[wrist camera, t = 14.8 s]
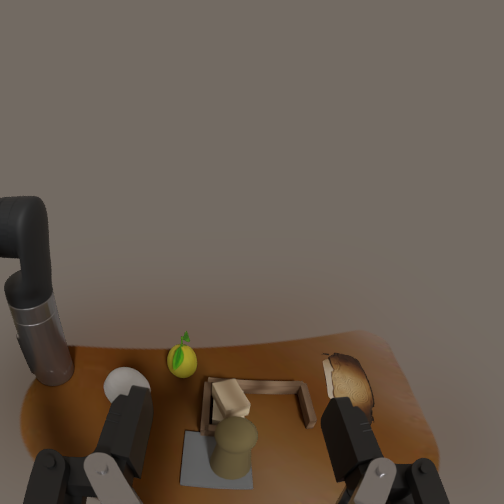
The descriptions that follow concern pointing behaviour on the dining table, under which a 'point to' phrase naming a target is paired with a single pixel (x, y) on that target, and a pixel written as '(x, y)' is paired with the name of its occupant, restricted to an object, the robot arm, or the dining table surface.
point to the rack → (260, 388)
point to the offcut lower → (217, 415)
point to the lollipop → (123, 382)
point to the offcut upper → (230, 398)
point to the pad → (205, 465)
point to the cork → (233, 447)
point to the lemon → (182, 359)
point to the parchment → (349, 382)
